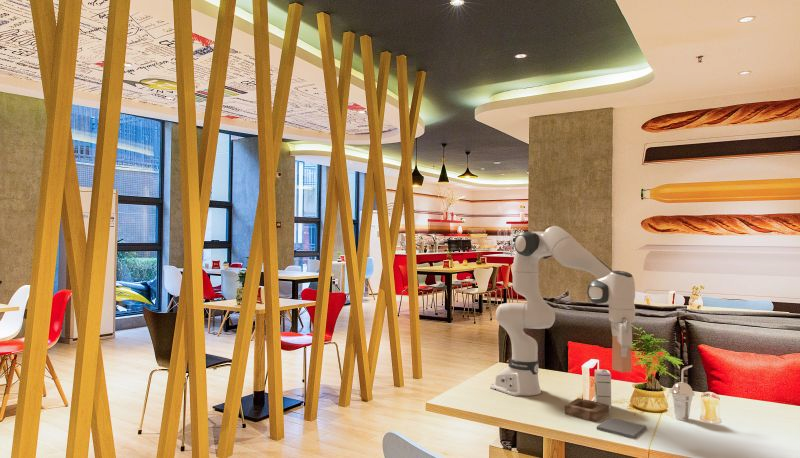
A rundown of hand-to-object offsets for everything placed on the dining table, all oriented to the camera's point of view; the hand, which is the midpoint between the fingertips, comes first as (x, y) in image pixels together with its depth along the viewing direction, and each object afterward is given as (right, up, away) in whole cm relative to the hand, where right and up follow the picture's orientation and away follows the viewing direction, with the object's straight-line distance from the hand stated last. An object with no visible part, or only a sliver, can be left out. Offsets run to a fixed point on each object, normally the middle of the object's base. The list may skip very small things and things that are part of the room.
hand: (621, 354), depth 199 cm
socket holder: (-7, -27, +16) cm, 32 cm away
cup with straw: (+28, -27, +11) cm, 40 cm away
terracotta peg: (0, -6, 0) cm, 6 cm away
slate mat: (0, -27, 0) cm, 27 cm away
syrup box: (+2, -27, +25) cm, 37 cm away
